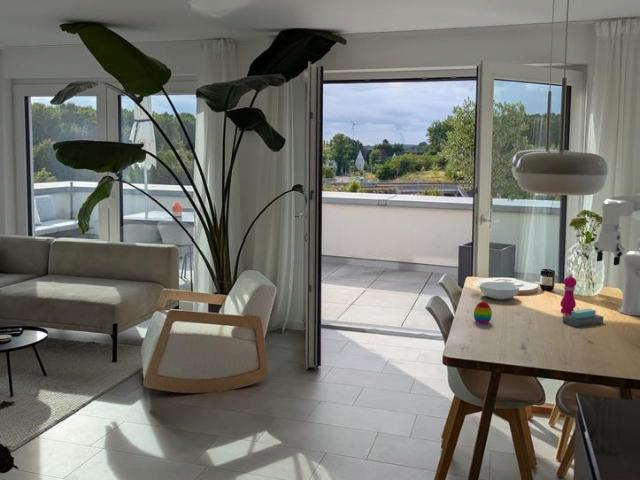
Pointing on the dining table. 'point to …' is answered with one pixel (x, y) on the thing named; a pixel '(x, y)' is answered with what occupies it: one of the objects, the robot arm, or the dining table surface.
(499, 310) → the dining table surface
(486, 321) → the decorative egg
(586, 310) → the clip
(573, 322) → the rail
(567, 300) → the pepper mill
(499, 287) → the serving bowl
